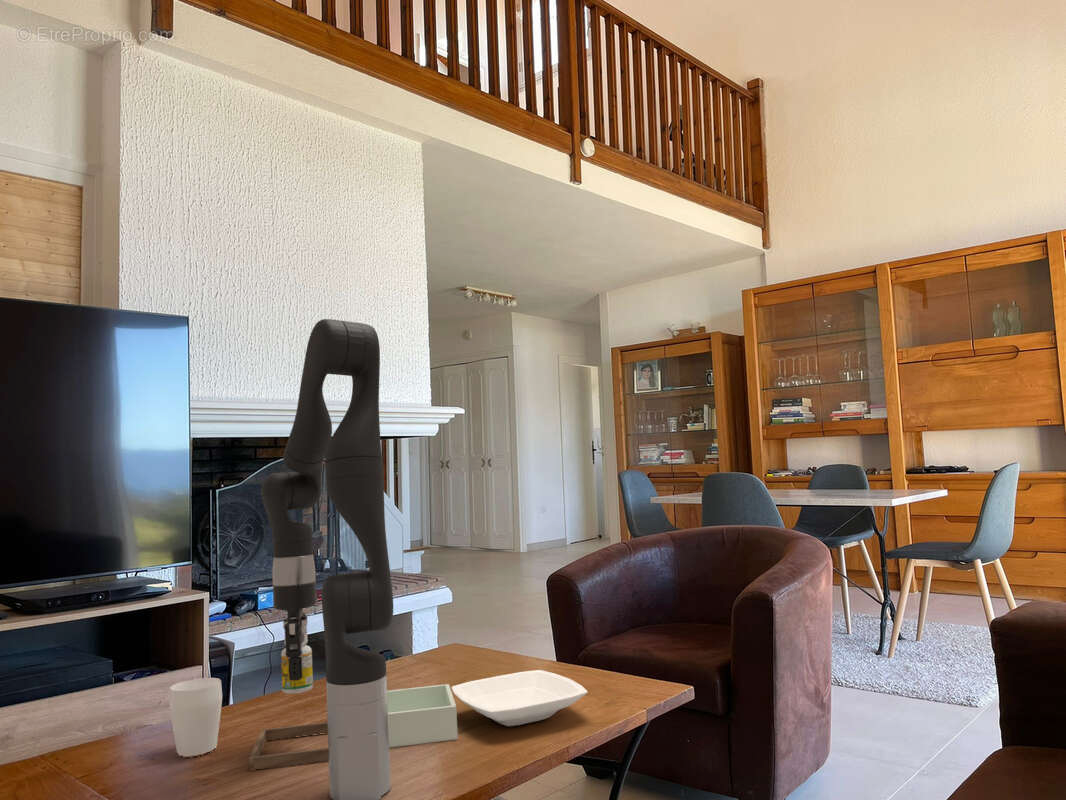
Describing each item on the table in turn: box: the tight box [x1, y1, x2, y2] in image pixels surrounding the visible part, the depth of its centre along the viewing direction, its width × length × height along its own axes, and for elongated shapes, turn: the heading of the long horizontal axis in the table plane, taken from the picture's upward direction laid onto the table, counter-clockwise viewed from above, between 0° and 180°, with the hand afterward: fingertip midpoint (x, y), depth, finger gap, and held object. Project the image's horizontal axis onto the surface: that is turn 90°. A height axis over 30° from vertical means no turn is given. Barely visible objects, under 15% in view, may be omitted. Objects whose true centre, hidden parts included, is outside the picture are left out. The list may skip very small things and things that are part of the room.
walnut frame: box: [248, 721, 329, 771], centre depth 142 cm, size 16×16×2 cm
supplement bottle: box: [280, 633, 314, 695], centre depth 142 cm, size 5×5×10 cm
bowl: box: [451, 669, 589, 727], centre depth 153 cm, size 22×23×6 cm
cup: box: [168, 677, 223, 756], centre depth 144 cm, size 9×9×12 cm
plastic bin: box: [387, 683, 459, 749], centre depth 149 cm, size 16×16×6 cm
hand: (297, 675), depth 142 cm, fingers closed on supplement bottle, 5 cm apart
